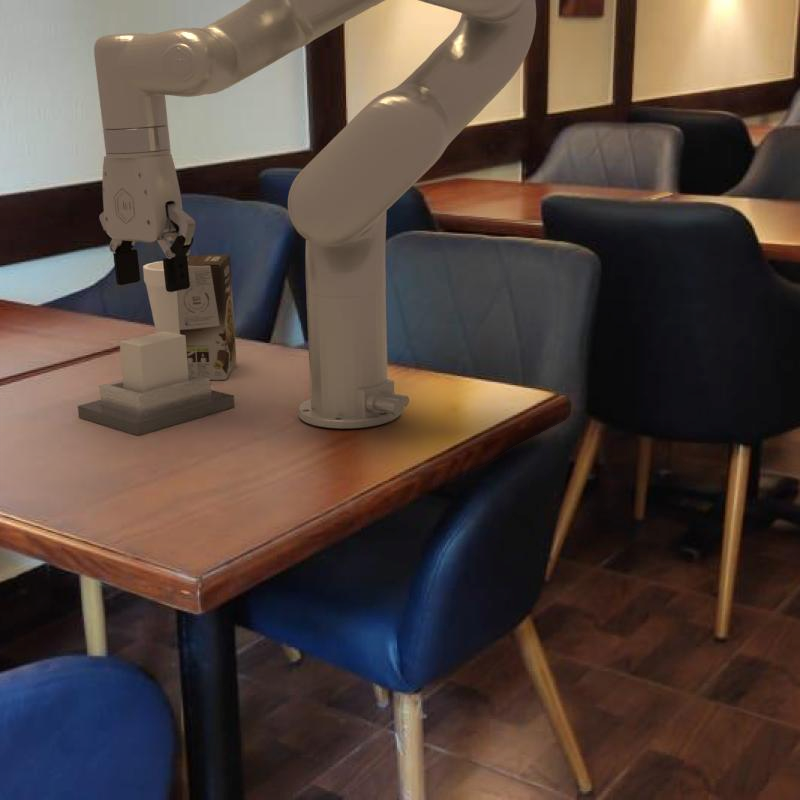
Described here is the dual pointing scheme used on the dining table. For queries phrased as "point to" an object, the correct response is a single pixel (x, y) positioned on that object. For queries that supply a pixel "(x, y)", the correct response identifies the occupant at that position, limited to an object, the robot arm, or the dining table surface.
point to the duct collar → (155, 405)
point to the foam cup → (161, 299)
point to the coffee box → (208, 316)
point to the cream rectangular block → (154, 361)
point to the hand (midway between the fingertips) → (153, 286)
